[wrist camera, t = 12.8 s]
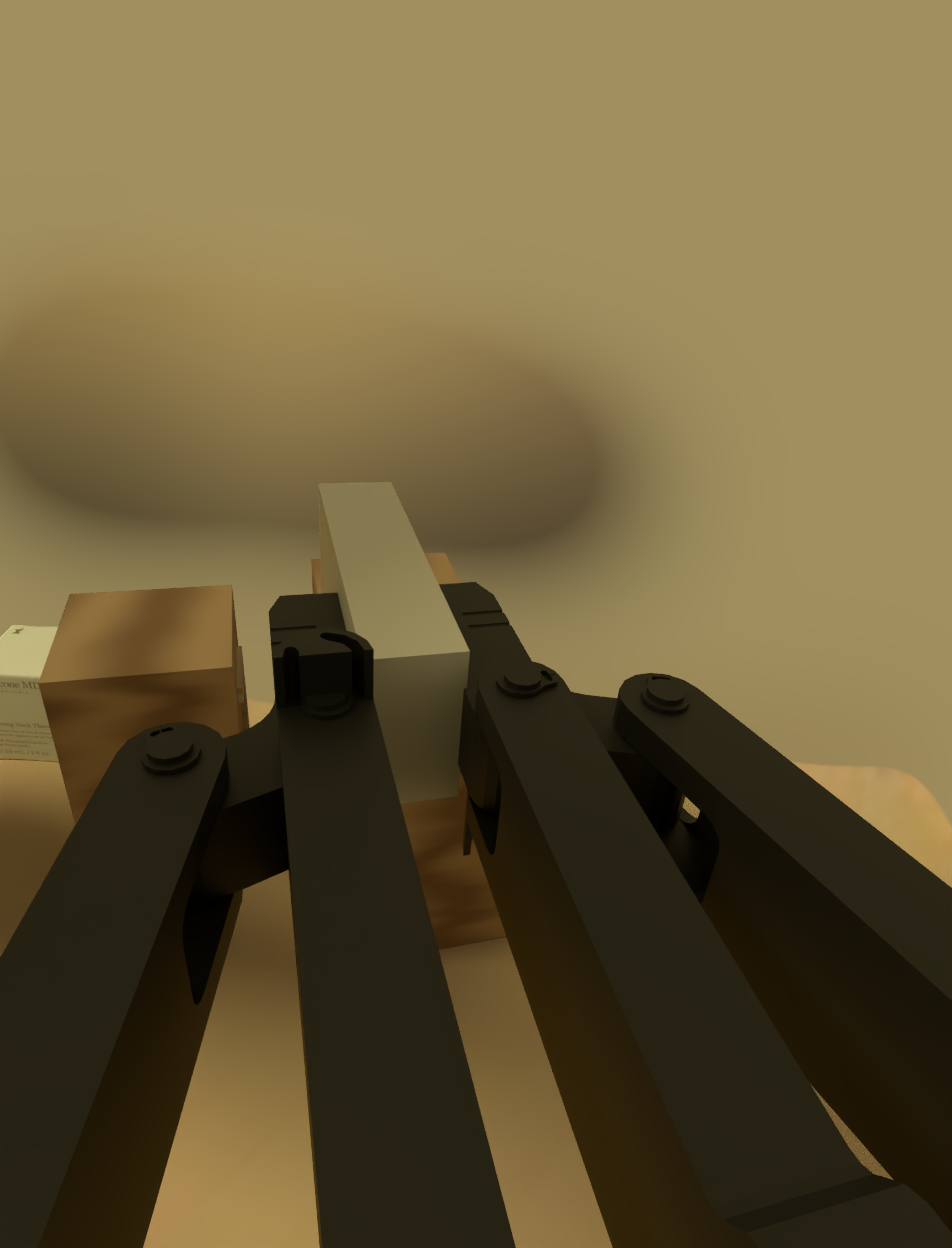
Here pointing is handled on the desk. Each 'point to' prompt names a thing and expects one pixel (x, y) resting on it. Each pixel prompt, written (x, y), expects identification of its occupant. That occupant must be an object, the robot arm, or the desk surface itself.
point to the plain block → (451, 872)
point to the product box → (24, 694)
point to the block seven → (139, 674)
